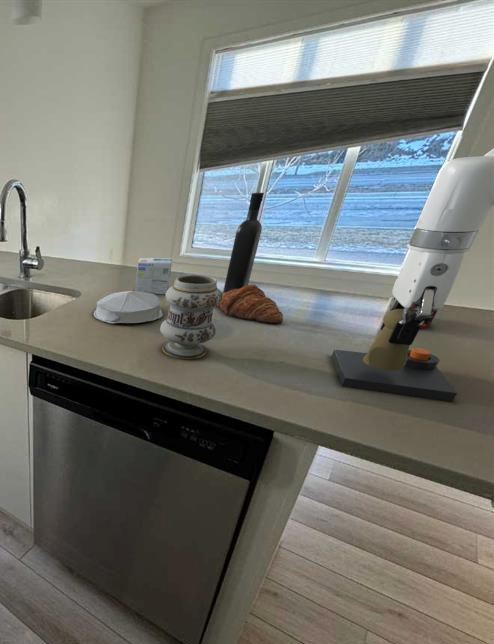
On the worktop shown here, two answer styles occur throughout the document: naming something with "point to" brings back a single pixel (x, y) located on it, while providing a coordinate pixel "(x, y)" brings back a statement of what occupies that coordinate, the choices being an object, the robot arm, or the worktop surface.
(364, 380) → the scale
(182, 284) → the apothecary jar
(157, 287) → the light bulb box
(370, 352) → the cork
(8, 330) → the worktop surface
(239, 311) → the pastry
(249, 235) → the wine bottle
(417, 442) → the worktop surface
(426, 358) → the button
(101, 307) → the food container
